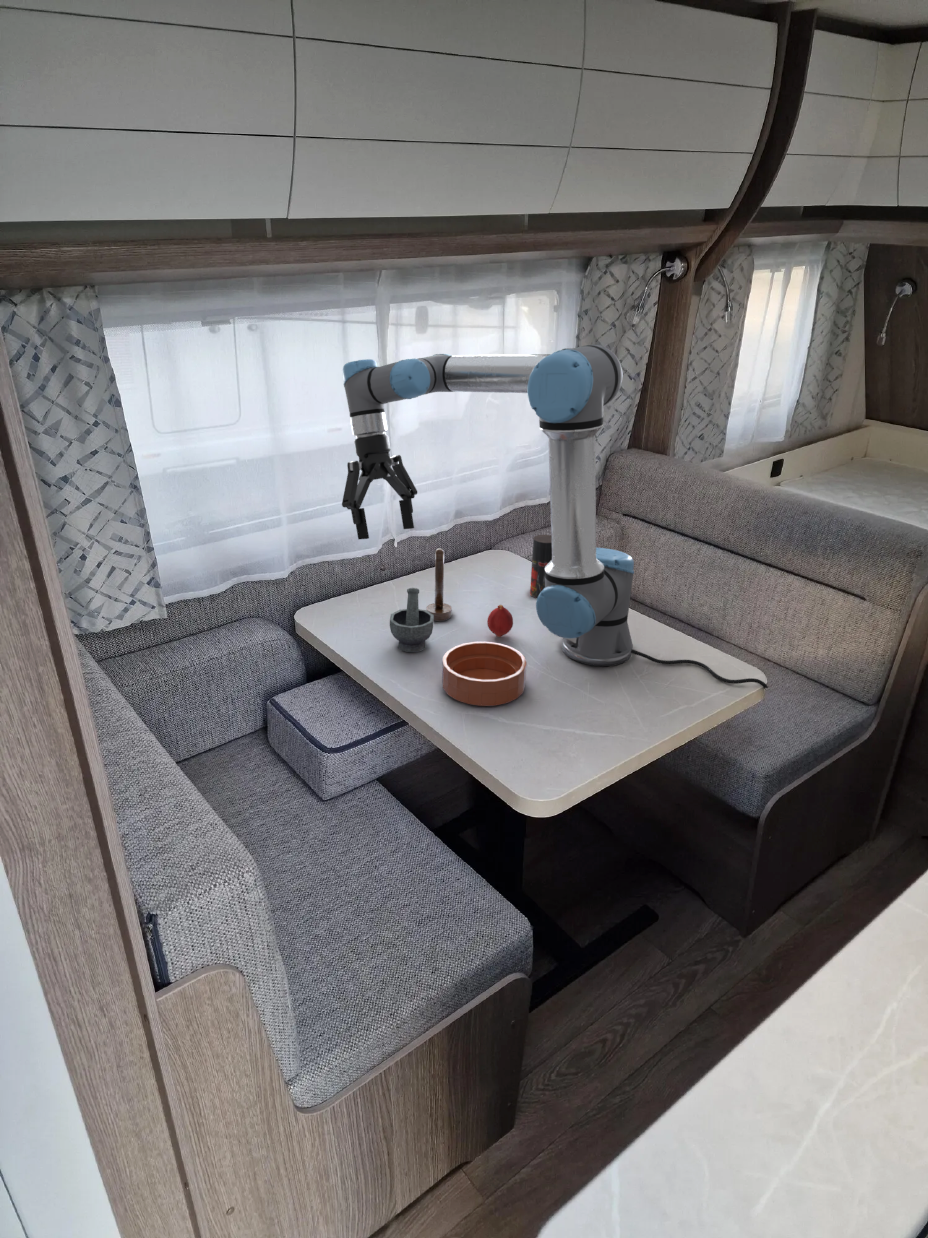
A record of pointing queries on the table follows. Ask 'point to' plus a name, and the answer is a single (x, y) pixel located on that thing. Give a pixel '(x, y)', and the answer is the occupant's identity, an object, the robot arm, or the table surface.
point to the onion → (500, 621)
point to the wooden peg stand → (439, 590)
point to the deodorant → (540, 563)
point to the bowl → (484, 673)
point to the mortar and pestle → (411, 624)
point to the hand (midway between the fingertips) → (386, 533)
